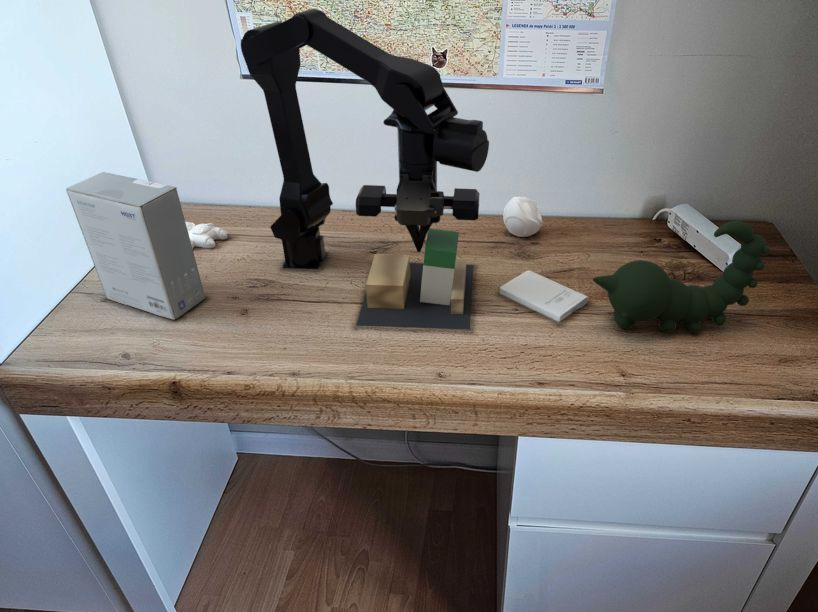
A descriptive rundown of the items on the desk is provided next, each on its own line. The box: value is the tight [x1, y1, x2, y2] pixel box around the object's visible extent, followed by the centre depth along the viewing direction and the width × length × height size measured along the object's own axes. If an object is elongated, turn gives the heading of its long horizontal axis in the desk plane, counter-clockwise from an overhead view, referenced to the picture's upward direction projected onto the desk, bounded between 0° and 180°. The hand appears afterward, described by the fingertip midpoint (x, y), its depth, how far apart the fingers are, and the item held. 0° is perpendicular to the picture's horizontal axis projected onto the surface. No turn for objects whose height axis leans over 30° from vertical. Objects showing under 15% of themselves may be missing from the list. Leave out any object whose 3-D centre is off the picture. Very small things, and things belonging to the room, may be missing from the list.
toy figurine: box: [592, 220, 771, 334], centre depth 101 cm, size 9×19×25 cm
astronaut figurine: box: [185, 221, 229, 250], centre depth 128 cm, size 9×12×3 cm
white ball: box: [502, 195, 544, 238], centre depth 128 cm, size 8×8×8 cm
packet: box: [420, 227, 460, 305], centre depth 110 cm, size 9×7×11 cm
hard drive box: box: [65, 171, 206, 320], centre depth 106 cm, size 16×8×20 cm, turn 65°
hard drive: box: [498, 269, 589, 323], centre depth 112 cm, size 2×8×12 cm
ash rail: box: [451, 260, 467, 315], centre depth 112 cm, size 2×12×3 cm, turn 177°
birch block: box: [365, 253, 411, 309], centre depth 112 cm, size 6×10×4 cm, turn 177°
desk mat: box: [355, 262, 474, 331], centre depth 113 cm, size 18×20×1 cm
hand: (419, 251), depth 108 cm, fingers closed
